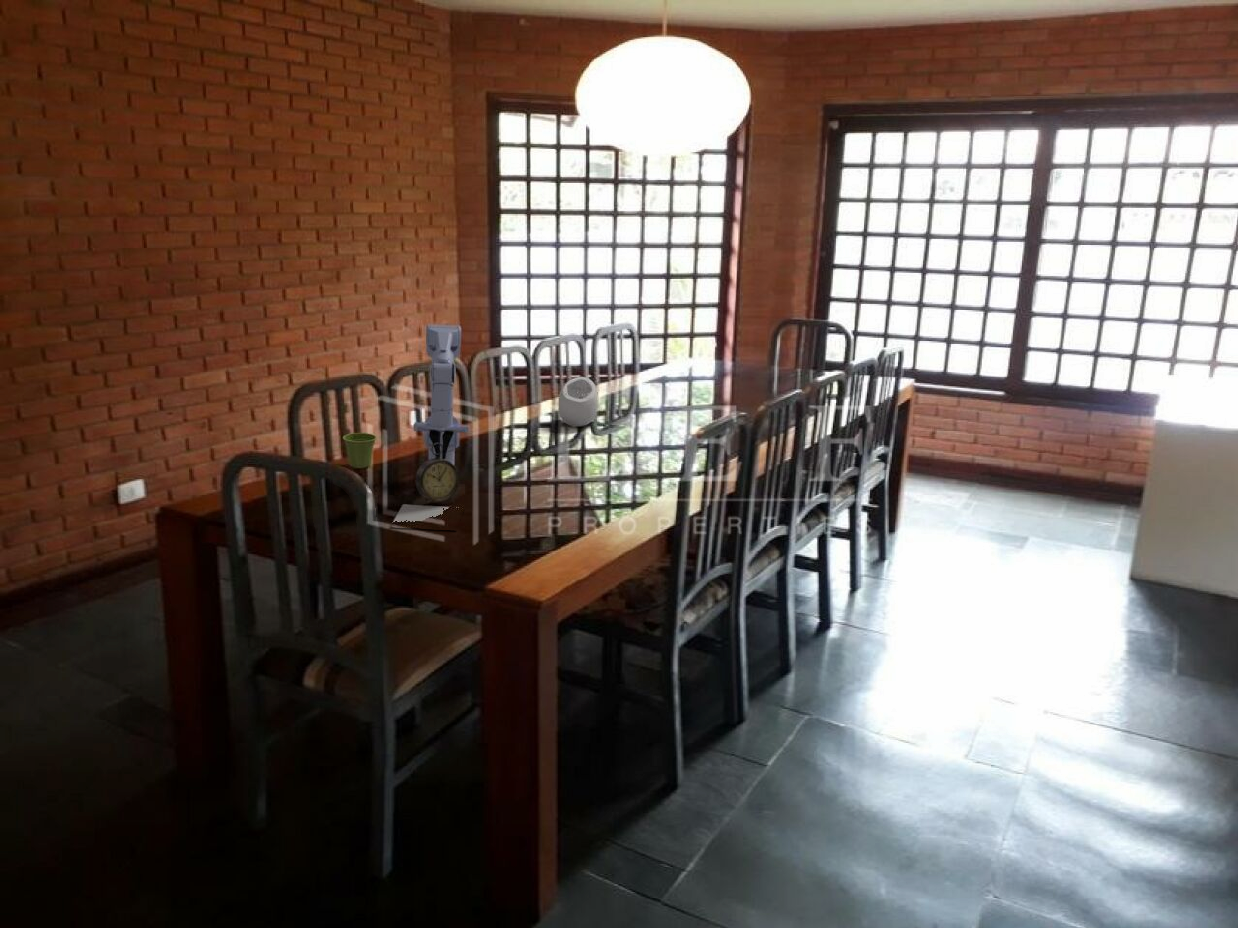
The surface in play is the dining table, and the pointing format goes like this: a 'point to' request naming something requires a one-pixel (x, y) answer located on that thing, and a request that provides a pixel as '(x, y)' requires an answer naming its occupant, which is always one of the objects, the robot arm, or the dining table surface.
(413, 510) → the mat
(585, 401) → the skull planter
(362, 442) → the plant pot
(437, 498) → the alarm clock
